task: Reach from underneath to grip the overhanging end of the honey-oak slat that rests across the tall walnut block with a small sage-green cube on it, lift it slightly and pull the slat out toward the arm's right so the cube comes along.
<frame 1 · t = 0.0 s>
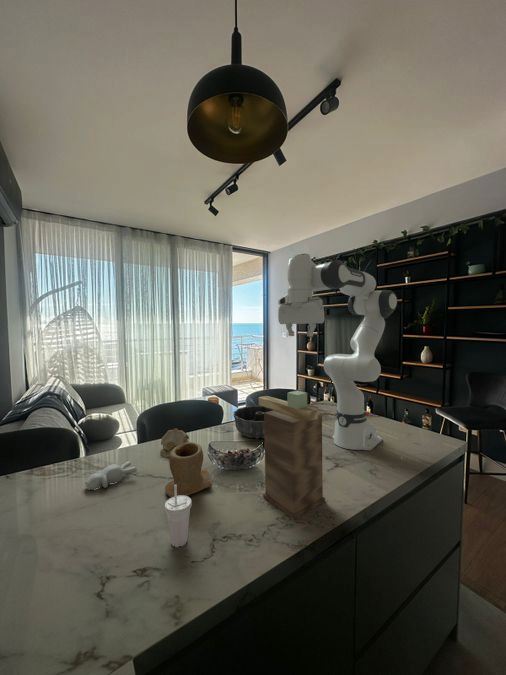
hand: (300, 336, 108), 48 cm above the kitchen island, tool pointing down, fingers open, 8 cm apart
ceramic model: (176, 452, 124), on the kitchen island
bundt pan: (260, 433, 144), on the kitchen island
oak slat: (285, 411, 90), point 26 cm above the kitchen island, touching sage cube, walnut block
sage cube: (297, 406, 85), point 28 cm above the kitchen island, touching oak slat
bunny figurine: (111, 482, 100), on the kitchen island
stone cup: (191, 491, 94), on the kitchen island
walnut block: (293, 499, 88), on the kitchen island
smoothie: (179, 542, 72), on the kitchen island
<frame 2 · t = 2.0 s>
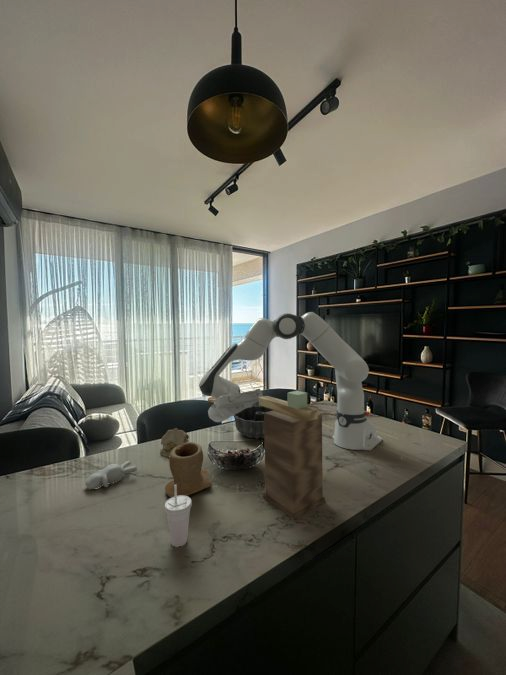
hand: (249, 392, 111), 27 cm above the kitchen island, tool pointing upward, fingers open, 8 cm apart
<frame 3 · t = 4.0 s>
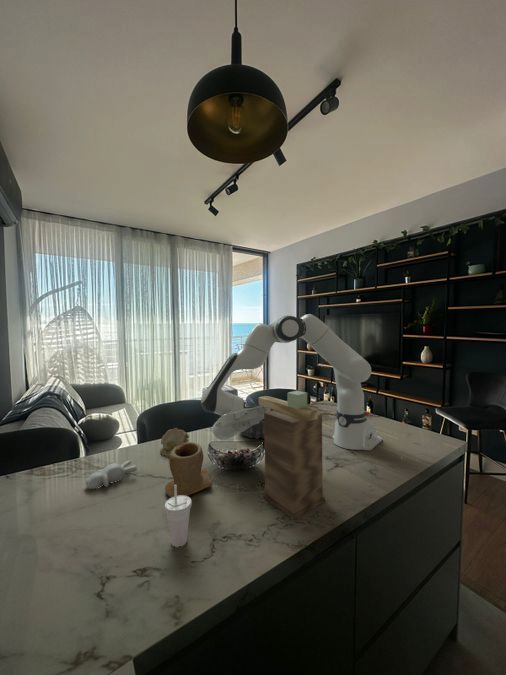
hand: (256, 409, 101), 23 cm above the kitchen island, tool pointing upward, fingers open, 8 cm apart
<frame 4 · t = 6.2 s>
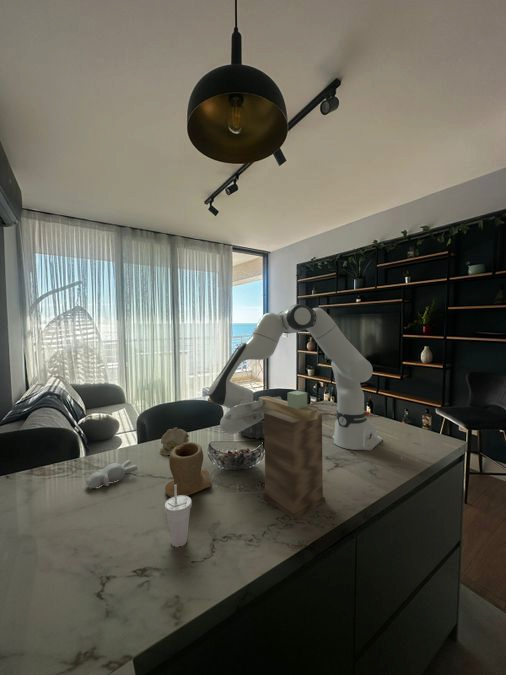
hand: (269, 400, 96), 28 cm above the kitchen island, tool pointing upward, fingers closed on oak slat, 3 cm apart
oak slat: (285, 411, 90), point 26 cm above the kitchen island, touching gripper, sage cube, walnut block
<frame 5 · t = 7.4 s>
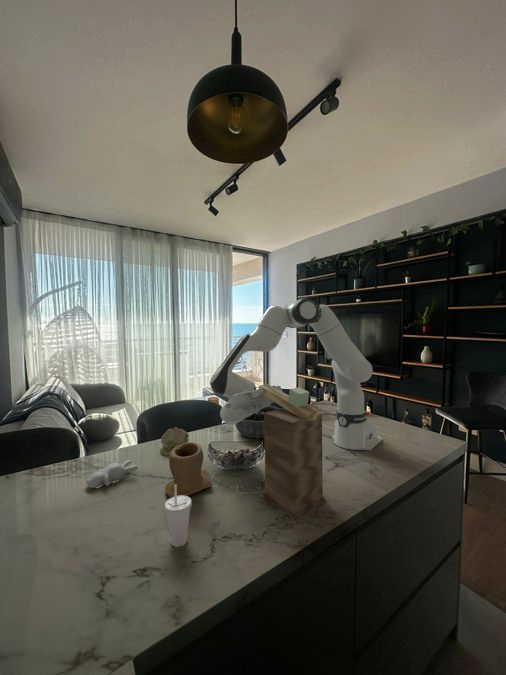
hand: (269, 388, 95), 32 cm above the kitchen island, tool pointing upward, fingers closed on oak slat, 3 cm apart
oak slat: (284, 404, 90), point 28 cm above the kitchen island, tilted 12°, touching gripper, sage cube, walnut block
sage cube: (297, 403, 85), point 29 cm above the kitchen island, tilted 12°, touching oak slat
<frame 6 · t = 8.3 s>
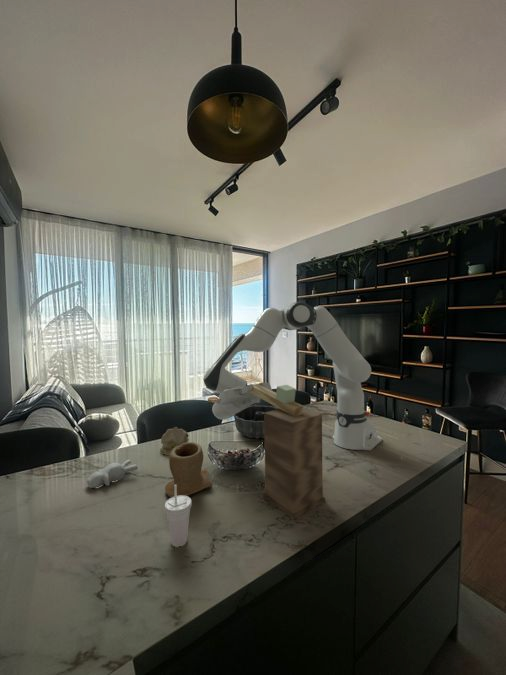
hand: (257, 385, 100), 32 cm above the kitchen island, tool pointing upward, fingers closed on oak slat, 3 cm apart
oak slat: (273, 402, 94), point 28 cm above the kitchen island, tilted 9°, touching gripper, sage cube
sage cube: (285, 400, 89), point 29 cm above the kitchen island, tilted 9°, touching oak slat
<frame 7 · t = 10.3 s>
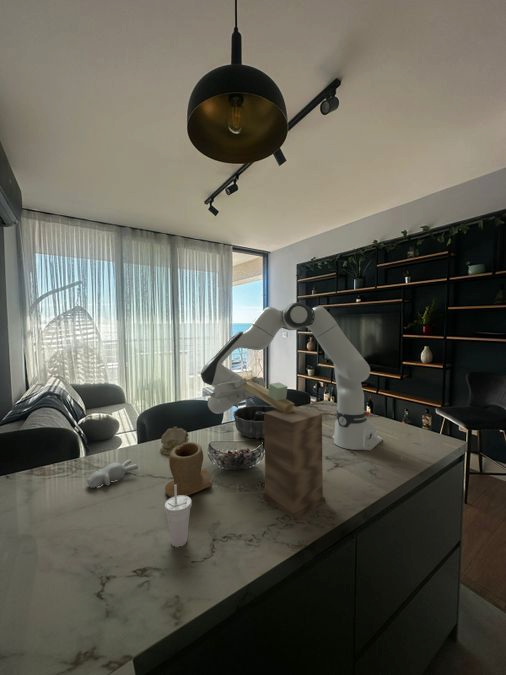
hand: (250, 379, 103), 33 cm above the kitchen island, tool pointing upward, fingers closed on oak slat, 3 cm apart
oak slat: (266, 398, 97), point 28 cm above the kitchen island, tilted 11°, touching gripper, sage cube, walnut block
sage cube: (277, 397, 92), point 30 cm above the kitchen island, tilted 11°, touching oak slat
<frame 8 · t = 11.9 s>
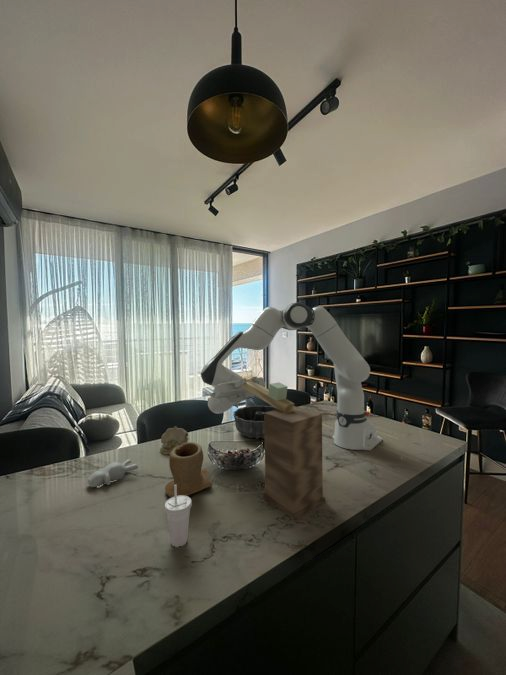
hand: (250, 379, 103), 33 cm above the kitchen island, tool pointing upward, fingers closed on oak slat, 3 cm apart
oak slat: (266, 398, 97), point 28 cm above the kitchen island, tilted 11°, touching gripper, sage cube, walnut block
at the end: oak slat moved 9.5 cm from its start; the gripper is holding oak slat; sage cube inside the target area on the oak slat (5.5 cm from its centre), point 1.5 cm above the oak slat's base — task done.
